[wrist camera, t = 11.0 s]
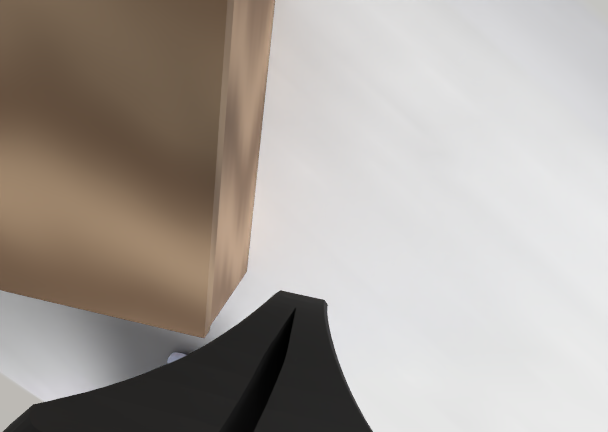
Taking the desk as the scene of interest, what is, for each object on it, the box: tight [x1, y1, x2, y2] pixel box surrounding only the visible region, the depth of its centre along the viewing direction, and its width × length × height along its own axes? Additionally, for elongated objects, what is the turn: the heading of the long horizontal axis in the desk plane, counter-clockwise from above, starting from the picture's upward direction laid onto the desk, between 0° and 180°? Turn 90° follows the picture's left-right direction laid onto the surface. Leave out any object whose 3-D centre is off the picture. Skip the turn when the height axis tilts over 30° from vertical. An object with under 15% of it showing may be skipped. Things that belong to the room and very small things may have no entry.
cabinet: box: [0, 0, 275, 338], centre depth 17 cm, size 14×10×6 cm
